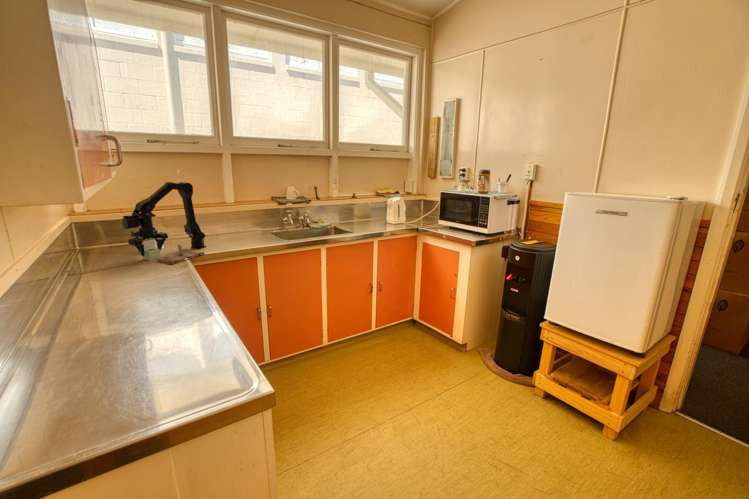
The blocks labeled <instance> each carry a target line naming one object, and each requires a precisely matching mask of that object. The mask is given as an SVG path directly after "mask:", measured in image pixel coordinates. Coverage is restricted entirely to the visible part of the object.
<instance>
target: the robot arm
mask: <svg viewBox="0 0 749 499" xmlns="http://www.w3.org/2000/svg"><path fill="white" fill-rule="evenodd" d="M174 190H176V191H177V192H178V194H179V196H180V198H181V199H182V203H183V205H182V206H183V209H184V214H185V219H186V224H183V230H184V233H185V234H186V235H188V238H190V239H191V240H190V244H191V246H190V249H193V250H200V249H203V248H207V245H205V240H204V239H205V238H206V234H205V233H204V232H203V231H202V230H201V227H200V225H199V224H198V222H197V221H196V215H195V210H194V204H193V199H192V196H193V194H194V186H193V184H191V183H190V182H185V181H183V182H182V181H180V182H178V183H177V182H176V183H175V182H171V181H166V182H165V183H164V184H163V185H162V186H160V188H158V189H157V190H156V191H155V192H153V193H152V194H151V195H150V196H149V197H147V198H144V199H142V200H139V201H138V202H137V203H136V204H135V208H134V210H133V211H132V213H131V215H123V216H122V220H121V225H122V227H123V229H124V230H128V229H129V230H130V229H133V230H131V231H130V235H131V237H132V238H128V240H127V241H128V242H127V243H128V245H131V246H133V247H135V248H136V249H137V251H138V252H139V253H140V255H141V257H142V256H144V250H145V248H144V243H143V242H144V241H148V240H152V239H155V241H156V242H157V249H160V252H161V251H162V249H163V248H162V246H164V243H165V241H166V240H167V239H168V238H169V234H168V233H167V232H158V233H155V235H154V229H156V227H154V223H153V218H155V217H157V215H156V214H154V213H153V211H154V209H155V208H156V205H157V204H158V203H160V201H162V199H164V198H165V196H167V195H168V194H170V192H172V191H174ZM136 228H138V231H137V230H136ZM161 248H162V249H161Z"/></svg>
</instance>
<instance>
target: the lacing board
mask: <svg viewBox="0 0 749 499" xmlns="http://www.w3.org/2000/svg"><path fill="white" fill-rule="evenodd" d="M177 248H178V252H175V253H171V254H169V255H165V256H161V258H157V259H156V261H157V262H159V263H165V264H169V265H175V264H179V263H182V262H185V261H184V259H185V258H188V259H189V260H192V259H194V258H199V257H200V256H199V255H201V254H204V255H205V251H201V250H196V249H185V250H183V244H181V243H180V244H177ZM201 256H202V255H201Z"/></svg>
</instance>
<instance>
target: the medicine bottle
mask: <svg viewBox="0 0 749 499" xmlns="http://www.w3.org/2000/svg"><path fill="white" fill-rule="evenodd" d="M155 233H159V231H158V229H156V228H155V229H154V235H155ZM142 244H144V250H145V249H149V248H156V249H157V242H156V241H155V239H152V240H148V241H144V242H143V243H142ZM164 247H165V246H164V245H163V246H162V248H161V250H162V249H164Z"/></svg>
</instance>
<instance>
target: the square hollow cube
mask: <svg viewBox="0 0 749 499" xmlns="http://www.w3.org/2000/svg"><path fill="white" fill-rule="evenodd" d="M141 257H142V260H144V261H145V260H146V261H150V262H151V261H155V260H157V258H161V257H162V256H161V251H160V249H156V248H149V249H145V248H144V256H142V255H141Z"/></svg>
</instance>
